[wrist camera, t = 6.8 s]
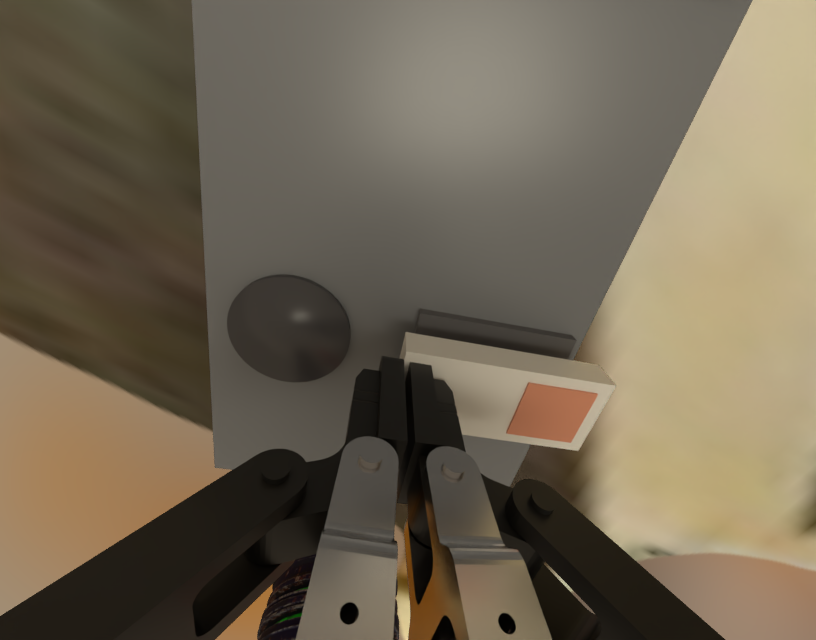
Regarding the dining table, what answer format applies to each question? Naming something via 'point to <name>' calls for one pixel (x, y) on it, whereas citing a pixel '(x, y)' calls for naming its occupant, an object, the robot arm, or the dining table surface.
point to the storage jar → (293, 603)
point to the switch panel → (423, 186)
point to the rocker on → (515, 391)
